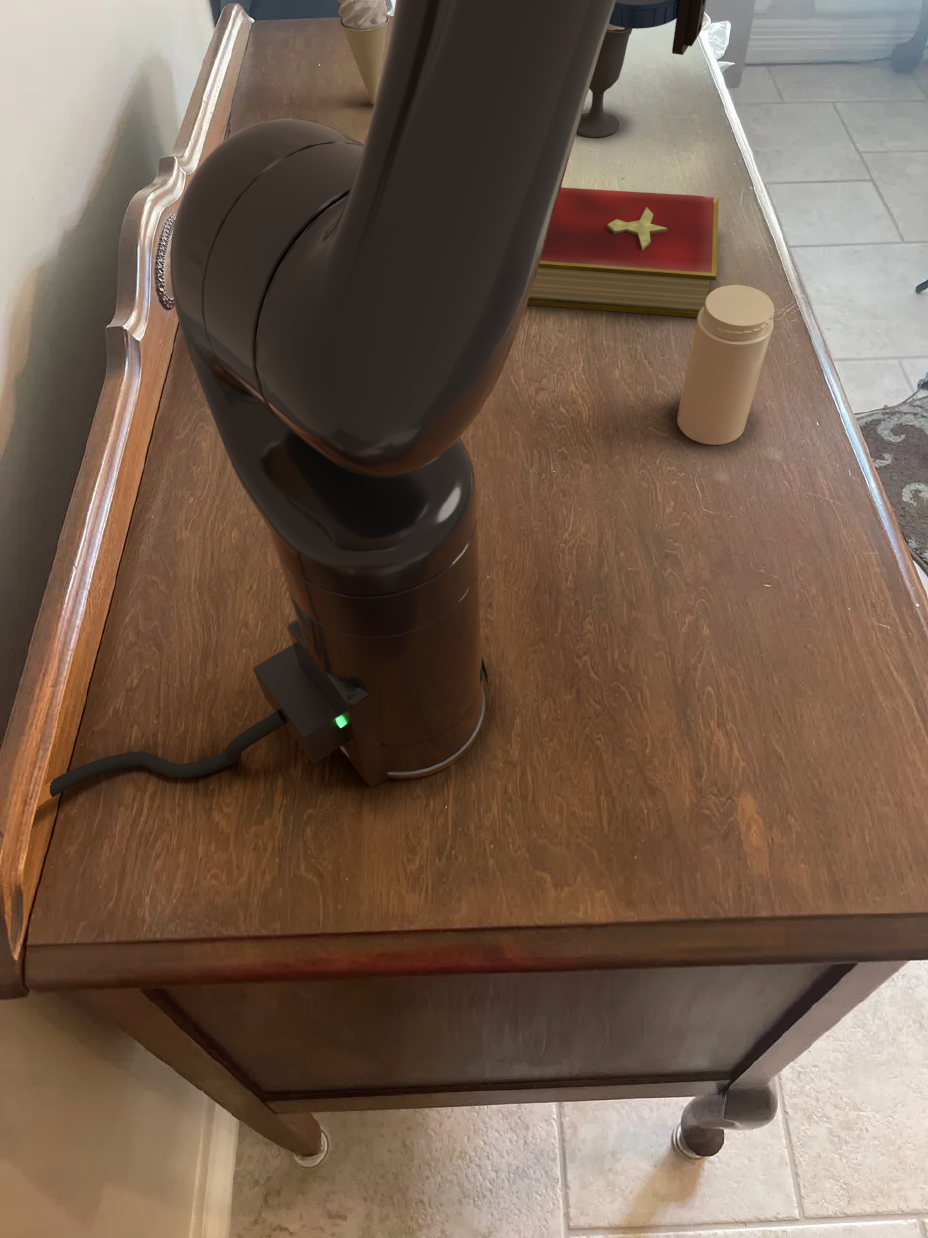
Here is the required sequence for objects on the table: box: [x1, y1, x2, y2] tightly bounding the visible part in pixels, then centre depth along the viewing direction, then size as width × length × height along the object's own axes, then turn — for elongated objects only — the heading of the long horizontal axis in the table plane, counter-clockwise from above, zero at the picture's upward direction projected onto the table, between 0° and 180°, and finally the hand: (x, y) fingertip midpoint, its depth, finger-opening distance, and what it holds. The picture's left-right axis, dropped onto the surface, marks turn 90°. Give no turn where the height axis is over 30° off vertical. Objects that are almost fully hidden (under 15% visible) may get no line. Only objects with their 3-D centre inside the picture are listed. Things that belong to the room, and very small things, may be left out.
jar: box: [676, 284, 776, 446], centre depth 65 cm, size 5×5×10 cm
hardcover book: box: [527, 186, 720, 319], centre depth 79 cm, size 12×21×4 cm, turn 80°
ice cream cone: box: [337, 0, 390, 105], centre depth 93 cm, size 5×5×15 cm
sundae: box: [576, 24, 633, 138], centre depth 89 cm, size 7×7×15 cm
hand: (635, 41), depth 63 cm, fingers closed on jar lid, 5 cm apart
